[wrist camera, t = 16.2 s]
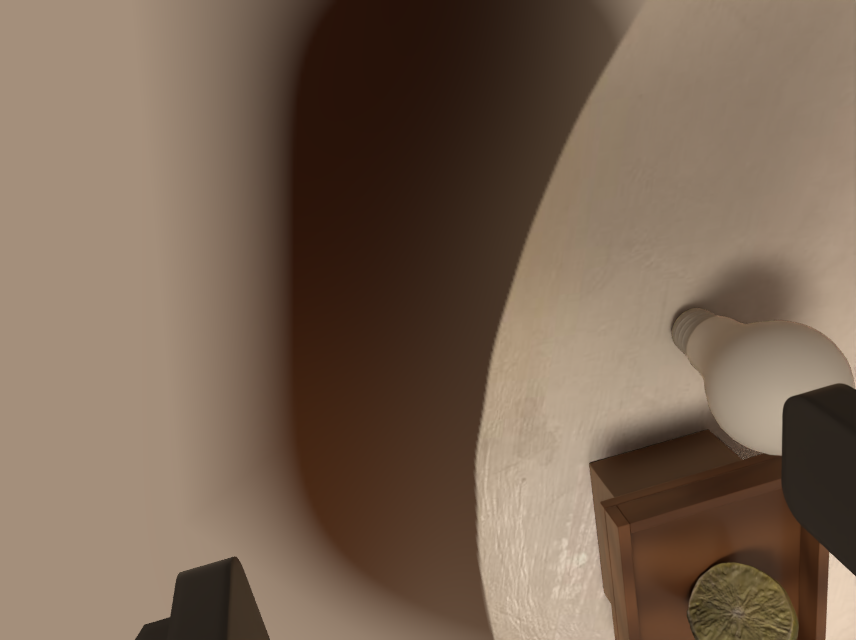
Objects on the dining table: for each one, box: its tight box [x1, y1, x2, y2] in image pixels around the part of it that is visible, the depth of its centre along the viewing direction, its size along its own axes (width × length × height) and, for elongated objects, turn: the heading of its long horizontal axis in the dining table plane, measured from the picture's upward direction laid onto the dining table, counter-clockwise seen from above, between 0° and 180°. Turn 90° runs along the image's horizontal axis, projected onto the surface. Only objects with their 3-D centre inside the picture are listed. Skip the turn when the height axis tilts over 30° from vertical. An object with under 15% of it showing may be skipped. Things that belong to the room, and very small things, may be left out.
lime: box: [687, 562, 799, 640], centre depth 36 cm, size 4×5×5 cm
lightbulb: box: [672, 308, 855, 456], centre depth 35 cm, size 6×6×11 cm
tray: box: [589, 429, 829, 640], centre depth 41 cm, size 14×11×8 cm
